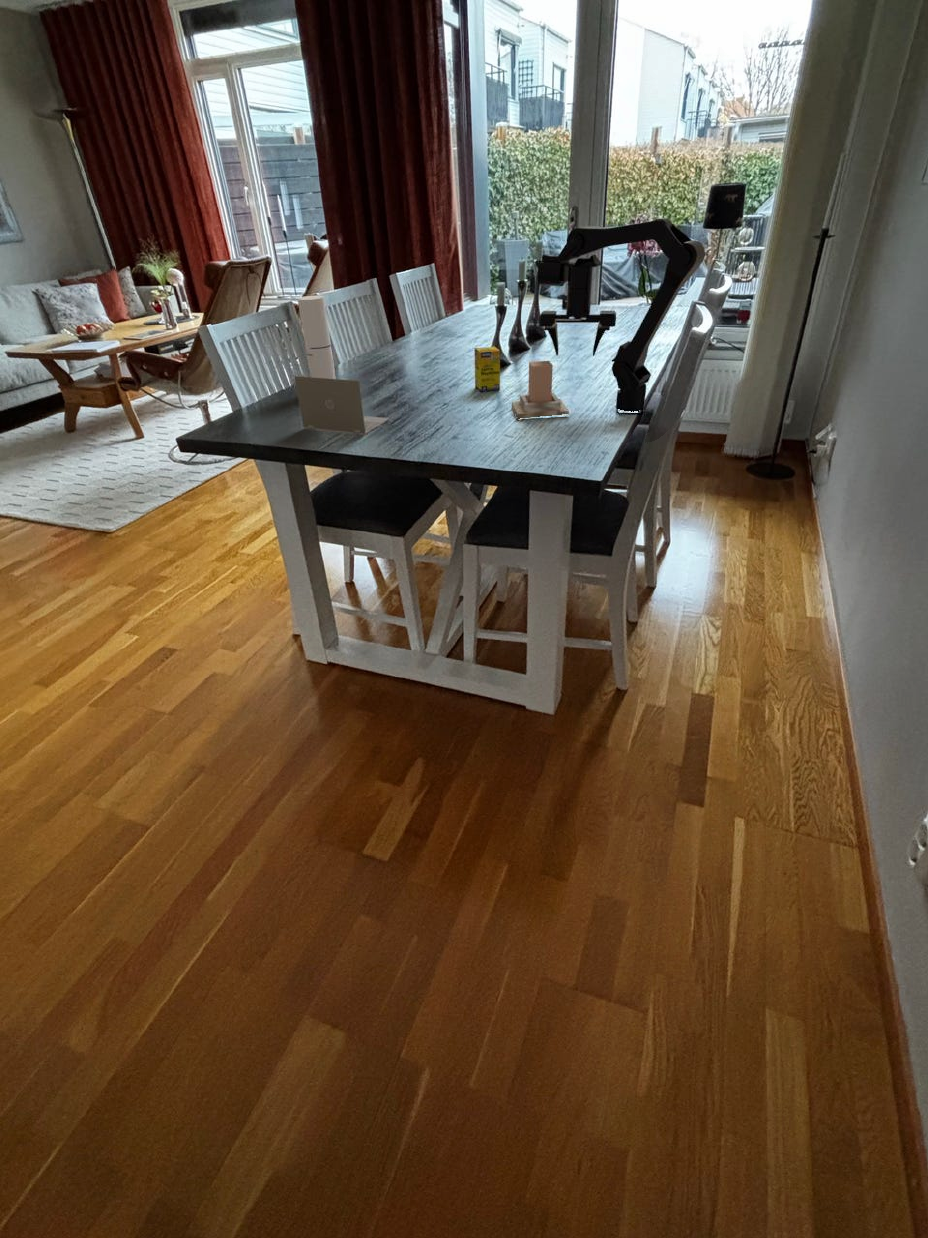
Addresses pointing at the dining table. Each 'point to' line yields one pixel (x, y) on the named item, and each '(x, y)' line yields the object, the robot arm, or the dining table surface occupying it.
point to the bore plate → (538, 407)
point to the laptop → (333, 406)
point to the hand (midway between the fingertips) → (575, 355)
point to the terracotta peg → (540, 381)
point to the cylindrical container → (316, 336)
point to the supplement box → (487, 369)
